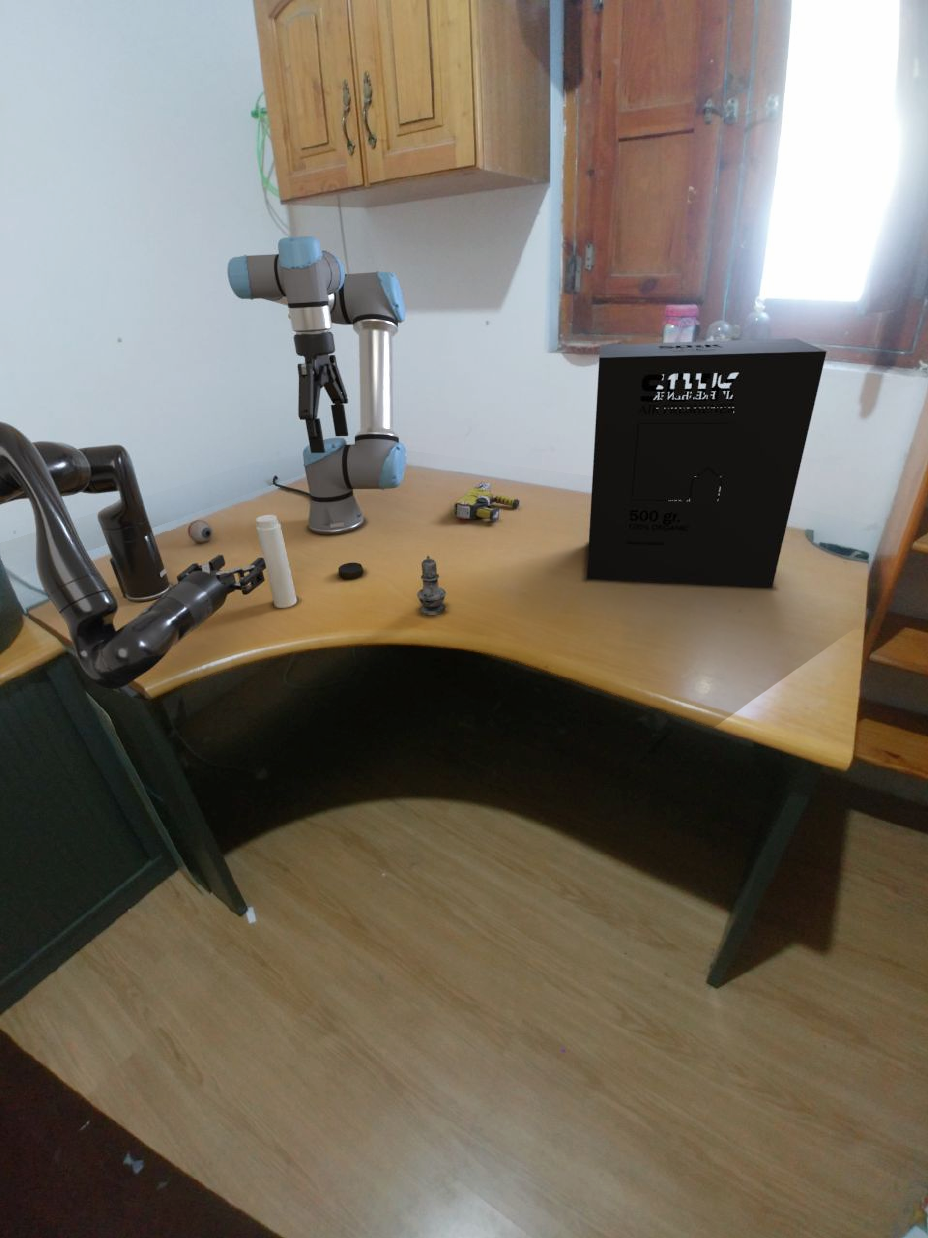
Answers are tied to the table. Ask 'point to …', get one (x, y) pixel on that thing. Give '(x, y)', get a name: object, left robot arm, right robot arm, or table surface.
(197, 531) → the eyeball
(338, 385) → the right robot arm
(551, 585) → the table surface
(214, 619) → the table surface
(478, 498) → the toy gun
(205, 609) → the left robot arm
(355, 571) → the lid
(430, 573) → the salt shaker
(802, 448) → the cardboard box
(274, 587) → the bottle
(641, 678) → the table surface
